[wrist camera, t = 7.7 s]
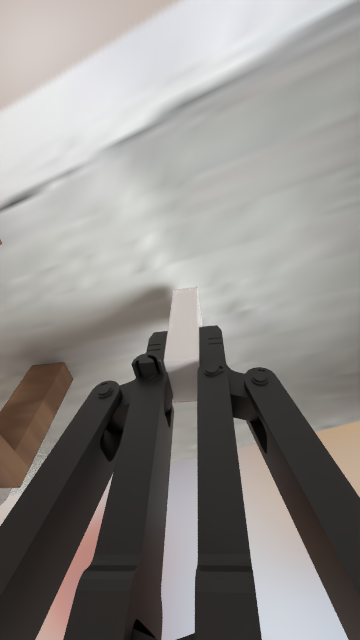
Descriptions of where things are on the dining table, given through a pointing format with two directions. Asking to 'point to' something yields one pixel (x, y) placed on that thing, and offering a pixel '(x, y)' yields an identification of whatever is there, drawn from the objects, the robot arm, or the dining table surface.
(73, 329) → the dining table surface
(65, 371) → the bridge
